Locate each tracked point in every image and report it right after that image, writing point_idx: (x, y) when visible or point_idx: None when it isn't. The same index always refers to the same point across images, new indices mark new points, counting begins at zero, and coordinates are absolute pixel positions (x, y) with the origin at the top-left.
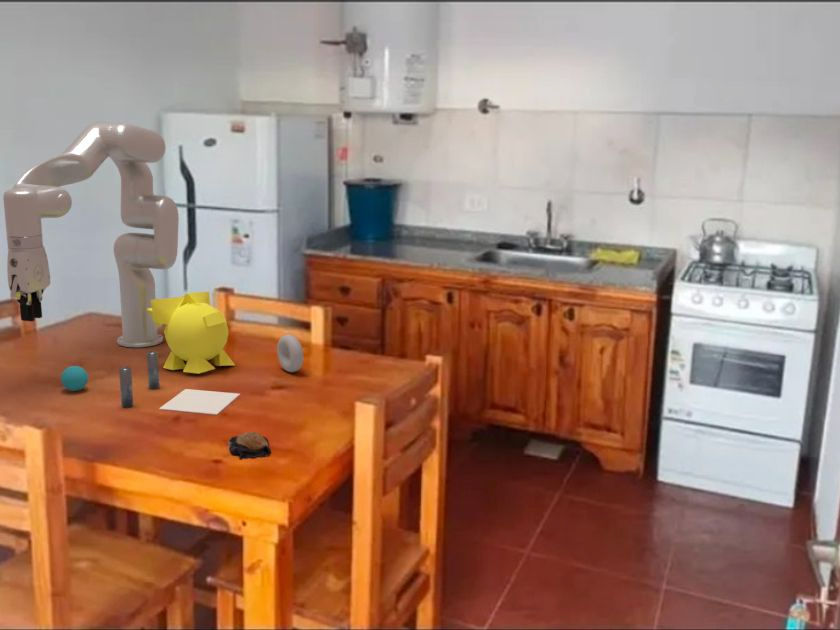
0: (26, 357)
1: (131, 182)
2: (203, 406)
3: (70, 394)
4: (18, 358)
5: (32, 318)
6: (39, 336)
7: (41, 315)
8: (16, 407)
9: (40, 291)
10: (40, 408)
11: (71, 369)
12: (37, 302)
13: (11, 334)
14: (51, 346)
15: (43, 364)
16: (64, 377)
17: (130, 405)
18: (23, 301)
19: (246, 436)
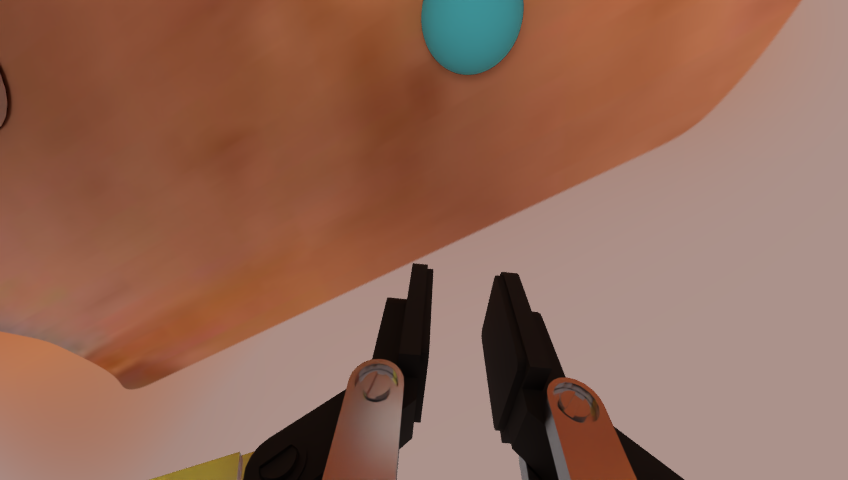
0: (248, 297)
1: None
2: None
3: None
4: (263, 308)
5: (519, 286)
6: (112, 335)
7: (419, 270)
8: (629, 137)
9: (348, 473)
10: (650, 55)
11: (500, 9)
12: (421, 367)
13: (140, 381)
14: (151, 285)
15: (276, 240)
16: (515, 39)
17: None
18: (649, 454)
19: None
